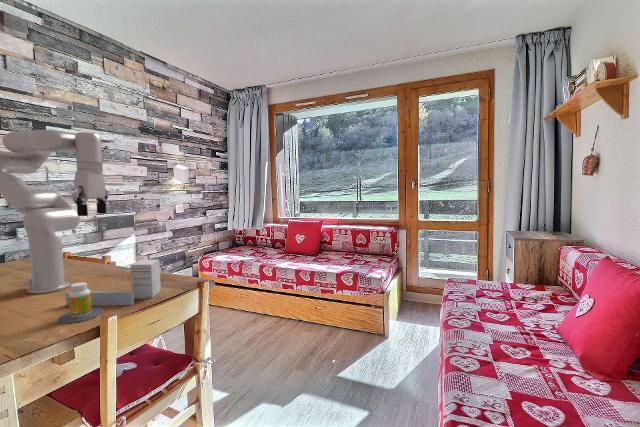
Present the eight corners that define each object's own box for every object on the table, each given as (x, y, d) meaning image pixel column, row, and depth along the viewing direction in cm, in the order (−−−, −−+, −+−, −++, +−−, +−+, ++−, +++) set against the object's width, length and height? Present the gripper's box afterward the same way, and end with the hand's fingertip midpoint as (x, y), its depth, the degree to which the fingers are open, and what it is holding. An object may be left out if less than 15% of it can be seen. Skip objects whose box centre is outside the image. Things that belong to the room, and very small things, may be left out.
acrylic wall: (66, 305, 104) (65, 293, 104) (69, 304, 105) (68, 291, 105) (132, 304, 105) (131, 292, 104) (134, 303, 106) (133, 291, 106)
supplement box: (141, 291, 118) (139, 259, 117) (161, 291, 118) (160, 259, 117) (131, 298, 110) (129, 264, 109) (152, 298, 111) (151, 264, 110)
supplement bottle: (79, 318, 93) (77, 287, 92) (65, 316, 94) (63, 286, 93) (96, 311, 98) (94, 282, 97) (82, 309, 100) (80, 280, 99)
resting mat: (48, 323, 90) (48, 322, 90) (76, 308, 101) (76, 307, 101) (86, 323, 91) (86, 322, 91) (110, 308, 102) (110, 307, 102)
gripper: (96, 168, 120) (98, 212, 121) (59, 166, 102) (63, 217, 104) (115, 169, 120) (117, 212, 121) (82, 166, 102) (85, 217, 104)
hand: (92, 214), depth 113 cm, fingers open, 9 cm apart
